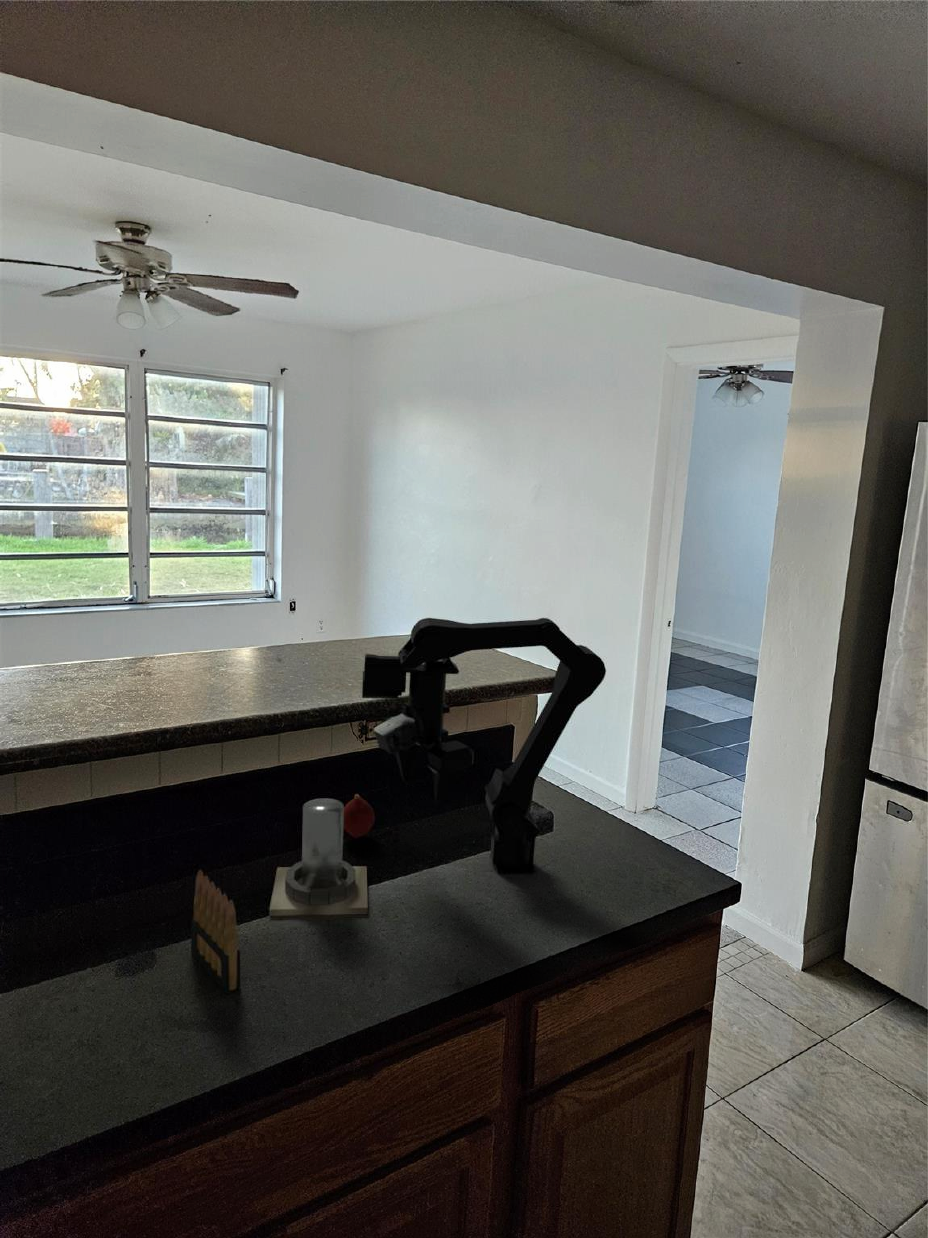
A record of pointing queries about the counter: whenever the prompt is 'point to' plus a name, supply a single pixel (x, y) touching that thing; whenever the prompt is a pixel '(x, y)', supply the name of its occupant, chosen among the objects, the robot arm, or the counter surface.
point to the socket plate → (319, 893)
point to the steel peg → (322, 843)
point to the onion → (358, 817)
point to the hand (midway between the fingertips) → (421, 791)
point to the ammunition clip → (215, 934)
